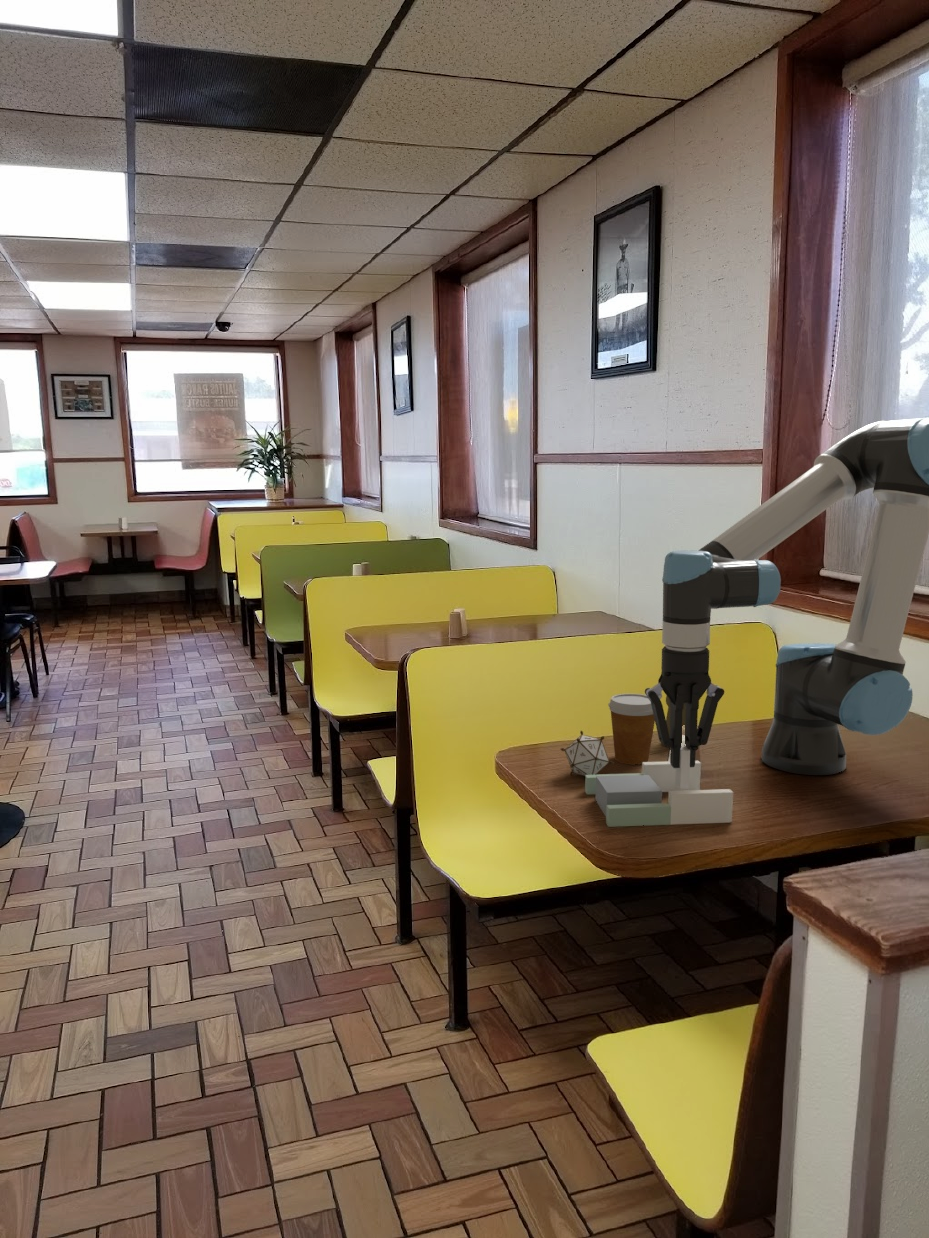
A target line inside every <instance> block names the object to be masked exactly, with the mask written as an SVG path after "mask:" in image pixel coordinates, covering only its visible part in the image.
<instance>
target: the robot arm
mask: <svg viewBox="0 0 929 1238" xmlns="http://www.w3.org/2000/svg"><path fill="white" fill-rule="evenodd" d="M869 489H872V490H873V491H872V493H873V495H874V496H875V498H876V500H877V501H878V503H879V504H878V505H879V506H878V509H877V514H876V517H875V521H874V525H873V530H872V533H871V538H870V540H869V546H868V550H867V554H866V556H865V557H866V558H865V561H864V566H863V570H862V574H861V577H860V582H859V586H858V590H857V594H856V597H855V601H854V606H853V609H852V610H853V611H852V613H851V619H850V621H849V626H848V629H847V635H846V637H845V639H843V640H842V641H841V642H839V643H838V644H837V643H820V642H818V643H815V642H814V643H813V642H812V643H792V644H786V645H782V646H781V647H780V648H779V649H778V652H777V657H776V663H775V684H774V687H775V688H774V704H773V718H772V719H773V720H772V723H771V725H770V728H769V730H768V733H767V735H766V737H765V740H764V742H763V744H762V746H761V761H762V763H764V764H765V765H766V766H769V767H771V768H773V769H776V770H779V771H782V772H786V773H791V774H798V775H808V776H827V775H835V774H839V772H840V773H842V772H844V771H845V770H846V768H847V753H846V750H845V746H844V743H843V737H842V735H841V731H840V727H839V726H842V727H844V729H847V730H849V731H851V732H855V733H861V734H864V735H868V736H878V735H880V736H881V735H882V734H883V735H884V734H885V733H888V732H891V730H892V729H894V728H896V727H897V726H899V725H900V724H901V723H902V722H903V720H904V719H906V716H907V715H908V713H909V711H910V709H911V707H912V703H913V697H914V695H913V688H912V687H911V686H910V685H911V683H910V681H909V680H908V679H907V678H906V677H905V675H904V671H905V668H906V667H905V666H906V662H907V661H906V660H905V659H904V657H903V656H902V654H901V652H900V648H901V643H902V640H903V636H904V631H905V627H906V624H907V620H908V616H909V611H910V609H911V605H912V600H913V596H914V592H915V589H916V584H917V580H918V576H919V572H920V568H921V564H922V560H923V559H924V557H923V556H924V552H925V549H926V545H927V541H928V537H929V416H925V417H921V418H910V419H909V418H908V419H895V420H894V419H893V420H890V419H889V420H888V419H887V420H879V421H876V422H872V423H870V424H867V425H865V426H863V427H861V428H859V429H857V430H855V431H853V432H852V433H850V434H848V435H847V436H846V437H844V438H842V439H840V440H839V441H837V442H836V443H835V444H833V445H832V446H831V447H829V448H827V449H826V450H825V451H824V452H821V454H820V455H818V456H817V457H816V458H815V459H814V461H813V466H812V467H811V468H810V469H808V470H807V471H806V472H804V473H803V474H801V475H800V476H799V477H797V478H796V479H795V480H793V481H792V482H790V483H789V484H788V485H786V486H785V487H783V488H782V489H781V490H779V491H778V492H777V493H775V494H774V495H772V497H770V498H769V499H767V500H766V501H764V502H763V503H762V504H760V505H759V506H757V508H755V509H754V510H752V511H751V512H750V513H748V514H747V515H745V516H744V517H743V518H742V519H740V520H738V521H736V523H734V524H733V525H731V526H730V527H729V528H727V529H726V530H724V531H723V532H722V533H720V534H719V535H718V536H716V537H715V538H714V539H713V540H711V541H710V542H708V543H706V544H705V545H704V546H702V547H701V548H700V549H698V550H692V549H691V550H682V549H681V550H673V551H670V552H668V553H667V554H666V555H665V557H664V562H663V563H664V564H663V572H662V573H663V574H662V583H663V584H662V591H663V592H662V627H661V628H662V630H661V631H662V633H661V634H662V636H661V638H662V639H661V643H662V644H663V645H664V646H663V648H661V673H660V676H659V678H658V680H657V681H658V682H657V683H656V684H655V685H654V686H652V687H646V688H645V690H644V695H647V697H648V698H649V700H650V701H651V706H652V710H653V715H654V719H655V723H654V724H655V727H656V732H657V736H658V737H657V738H658V740H659V742H660V743H661V745H662V746H663V747H665V748H670V753H669V754H670V755H669V757H670V758H669V759H670V760H669V761H670V764H671V766H672V767H673V768H675V784H676V785H677V786H678V787H679V788H680V789H686V788H689V774H690V767H694V766H695V761H696V751H698V749H699V747H700V746H706V745H707V743H708V741H709V738H710V734H711V730H712V726H713V722H714V719H715V715H716V712H717V708H718V703H719V702H720V700H721V699H722V697H723V696H724V695H725V689H724V688H722V687H720V686H719V685H717V684H714V683H713V682H712V678H711V676H710V674H709V670H710V650H709V648H708V646H710V643H711V640H710V639H711V613H712V610H713V609H714V610H717V609H718V610H719V609H727V608H729V609H730V608H748V607H753V608H756V607H761V606H766V605H767V606H768V605H771V604H772V603H774V602H775V601H776V600H777V598H778V596H779V595H780V591H781V581H782V578H781V574H780V571H779V569H778V567H777V566H776V565H775V563H773V562H772V561H770V560H767V559H762V560H761V557H763V556H764V555H766V554H767V553H768V552H770V551H771V550H772V549H774V548H775V547H777V546H778V545H780V544H781V543H782V542H784V541H785V540H786V539H787V538H789V537H790V536H792V535H793V534H794V533H796V532H798V530H800V529H801V528H803V527H804V526H805V525H807V524H808V523H810V522H811V521H812V520H813V519H815V518H816V517H818V516H820V514H822V513H823V512H824V511H826V510H827V509H829V508H830V507H832V506H833V505H835V504H836V503H837V502H838V501H841V500H842V501H848V500H851V499H852V498H853V497H855V496H857V495H859V493H861V492H863V491H866V490H869ZM662 691H663V693H664V694H665V696H667V697H668V698H669V699H670V737H669V732H668V728H667V723H666V714H665V711H664V706H663V703H662V701H661V699H662V698H663V695H662ZM705 693H706V697H705V699H704V702H703V708H702V711H701V713H700V718H699V717H698V714H699V713H698V711H699V708H700V700H701V699H702V697H703V696H704V694H705ZM684 703H685V706H686V710H685V744H686V746H685V745H684V746H681V743H682V710H683V708H684ZM698 718H699V723H698ZM841 771H842V772H841Z"/></svg>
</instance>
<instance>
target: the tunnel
mask: <svg viewBox="0 0 929 1238" xmlns="http://www.w3.org/2000/svg"><path fill="white" fill-rule="evenodd" d="M701 767H702V762H701V761H699V760H695V766H694V767H690V774H689V788H686V789H680V788H679V787H678V786H677V785H676V784H675V768H673V767H672V766H671V764H670V760H669V761H648V762H642V764H641V772H637V773H606V774H604V773H603V774H596V775H585V776H584V777H585V781H584V782H585V783H584V792H585V794H586V795H596V776H622V775H649V776H650V777H651V778H652V780H653V781H654V782H655V783H656V784H657V786H658V787H659V788H660V789H661V790H662V793H668V797H667V798H668V800H667V802H664V803H663V802H662V803H655V804H625V805H607V806H606V816H605V824H606V826H607V827H608V828H610V827H612V828H613V827H618V828H619V827H638V826H639V827H640V826H643V825H644V826H670V825H694V824H695V825H696V824H697V825H698V824H721V823H722V824H723V823H724V824H725V823H732V822H733V821H732V820H733V805H734V804H733V801H734V791H732V789H730V788H727V789H726V788H722V789H719V788H718V789H701V772H702V768H701Z"/></svg>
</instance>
